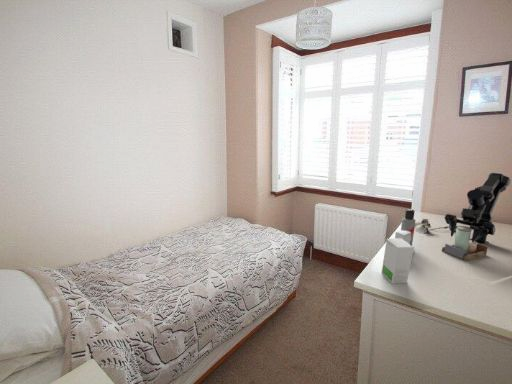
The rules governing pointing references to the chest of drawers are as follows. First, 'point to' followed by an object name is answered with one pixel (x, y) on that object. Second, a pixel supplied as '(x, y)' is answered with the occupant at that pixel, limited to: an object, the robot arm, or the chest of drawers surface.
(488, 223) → the robot arm
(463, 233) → the mint green grey canister
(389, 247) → the skincare box
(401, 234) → the skincare box
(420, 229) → the artificial flower
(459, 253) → the bar
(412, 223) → the lotion bottle
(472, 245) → the jar
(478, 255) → the wooden tray
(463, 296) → the chest of drawers surface
